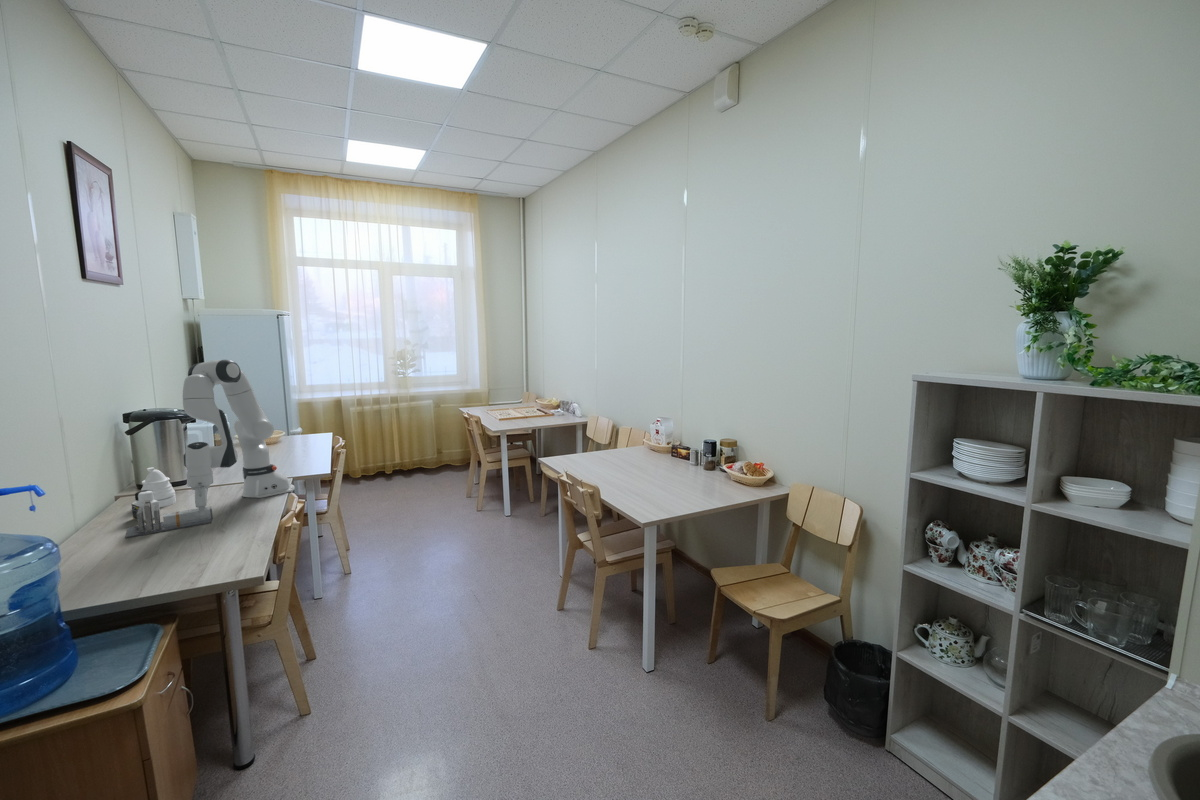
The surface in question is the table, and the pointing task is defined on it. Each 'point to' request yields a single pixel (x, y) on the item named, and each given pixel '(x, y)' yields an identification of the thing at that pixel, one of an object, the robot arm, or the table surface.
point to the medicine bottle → (143, 502)
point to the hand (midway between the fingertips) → (202, 511)
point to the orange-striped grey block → (186, 517)
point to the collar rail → (156, 526)
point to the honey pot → (159, 487)
